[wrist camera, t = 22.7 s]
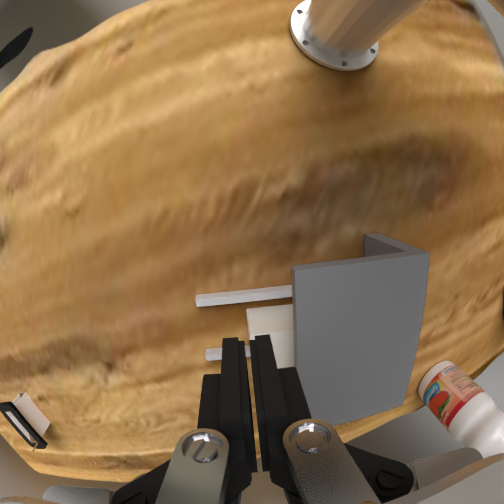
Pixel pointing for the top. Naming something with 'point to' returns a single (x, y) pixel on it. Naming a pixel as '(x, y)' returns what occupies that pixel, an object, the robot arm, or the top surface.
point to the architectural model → (26, 420)
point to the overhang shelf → (351, 327)
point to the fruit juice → (463, 408)
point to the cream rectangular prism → (274, 330)
